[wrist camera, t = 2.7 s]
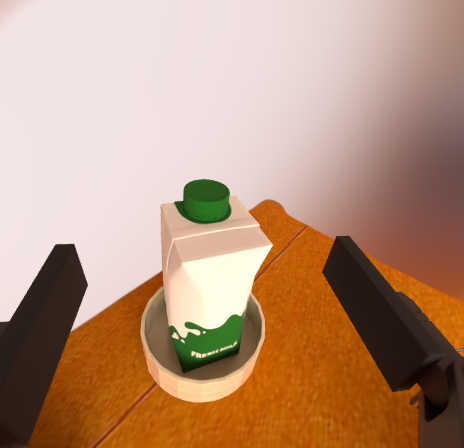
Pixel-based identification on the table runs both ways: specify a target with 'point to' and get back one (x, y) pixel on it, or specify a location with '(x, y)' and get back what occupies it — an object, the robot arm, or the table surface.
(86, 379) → the table surface
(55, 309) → the robot arm
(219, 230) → the milk carton
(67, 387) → the table surface
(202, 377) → the bowl
